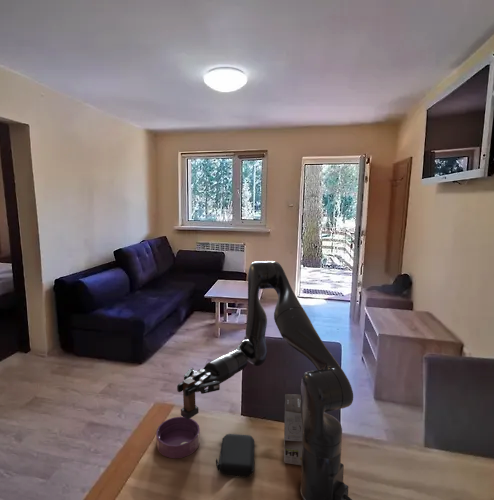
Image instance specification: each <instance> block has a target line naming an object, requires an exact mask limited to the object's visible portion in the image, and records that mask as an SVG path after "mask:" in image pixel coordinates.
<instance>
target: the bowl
mask: <svg viewBox="0 0 494 500" xmlns="http://www.w3.org/2000/svg"><path fill="white" fill-rule="evenodd" d="M155 435H156V436H155V438H156V439H155V440H156V449H157V451H158V453H160V454H161V455H162V456H163V457H166V458H169V459H182V458H186V457H188V456H190V455H192V454H193V453H194V452H196V450H197V449H198V448H199V446H200V443H201V429H200V424H198V422H197V421H196V420H195V419H193V418H192V417H191V418H190V419H188V420H187V419H186V418H184V417H183V416H174V417H171V418H168V419H166V420H165V421H162V423H160V425H158V427H157V429H156V432H155ZM183 442H187V443H185V444H181V443H183ZM180 444H181V445H180Z"/></svg>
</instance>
